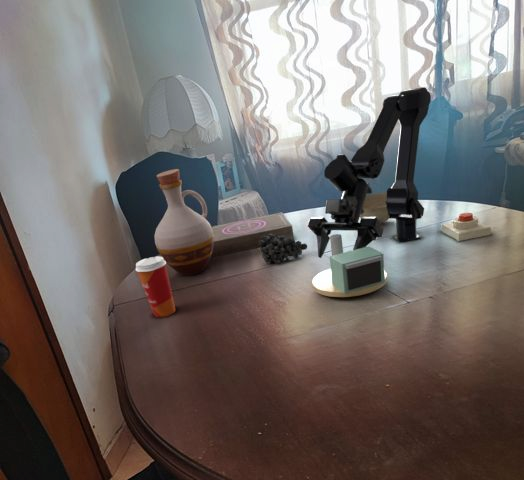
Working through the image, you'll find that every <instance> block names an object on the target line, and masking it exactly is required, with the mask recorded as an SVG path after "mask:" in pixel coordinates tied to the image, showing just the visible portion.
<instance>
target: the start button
mask: <svg viewBox="0 0 524 480" xmlns="http://www.w3.org/2000/svg"><path fill="white" fill-rule="evenodd" d="M473 216H474V214H473V213H472V212H462V213H460V214H458V217H459V221H462V222H466V221H471V220H473Z"/></svg>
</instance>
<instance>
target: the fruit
mask: <svg viewBox="0 0 524 480" xmlns="http://www.w3.org/2000/svg"><path fill="white" fill-rule="evenodd" d="M259 246H260V247H256V249H257V250H260V252H261V253H262V254H261V258H262V259H263V261H264V262H265V263H266V264H269V263H274V264H276V265H279V264H280V263H281V262H283V261H285V260H286V259H287V258H290V257H293V258H295V259H297V258H298V257H299V256H301V255H302V254H303V251H304V250H307V249H308V245H307V243H302V241H301V240H297V241H296V240H295V239H294V240H293V238H286V237H285V236H278V237H277V238H276V237H275V235H274V234H268V236H267V237H266V236H262V237H261V241H259Z"/></svg>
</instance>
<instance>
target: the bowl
mask: <svg viewBox="0 0 524 480" xmlns="http://www.w3.org/2000/svg"><path fill="white" fill-rule="evenodd" d="M386 198H387V192H386V193H385V192H383V193H379V192H378V193H371V194H366V197H365V200H364V203H363V207H362V209H363V210H364V212H363V214H360V217H359V219H361V218H362V217H377V219H378V220H379V221H380V223H381V224H382V223H385V222H386V221H388V220H389V219H390V218H389V215H388V212H387V208H386V203H385V202H386Z"/></svg>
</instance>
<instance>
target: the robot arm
mask: <svg viewBox="0 0 524 480" xmlns="http://www.w3.org/2000/svg"><path fill="white" fill-rule="evenodd" d="M431 96H432V95H431V92H430V91H428V89H427V88H426V87H424V86H422V87H416V88H411V89H404V90H402V91H400V92H399V93H398V94H395V95H394V94H393V95H389V96H387V97H385V98H384V99H383V101H382V108H381V110H380V112H379V114H378V117H377V119H376V120H375V123H374V124H373V127H372V130H371V131H370V133H369V135H368V138H367V140H366V142H365V143H364V145H362V146H360V147H359V148H358V149H357V150H356V151H355V153H354V155H353V156H352V158H351V160H350V161H349V159H348V157H347V156H346V154H343V153H342V154H337V155H336V158H334V159H332V160H331V161H330V162H329V163H328V164H327V165H326V166H325V168H324V172H323V175H324V177H325V179H326V180H327V181H328V182H329V183H330V184H331V185H332V186H333V187H334V188H335V189H336V190H337V191H338V192H342V194H341V195H342V196H341V198H335V199H332V198H331V199H326V201H325V211H324V213H325V215H326V214H329V215H330V218H331V220H334V222H330V221H328V220H327V218H326V217H324V216H312V217H310V218H309V220H308V222H307V227H308V229H309V230H311V232H312V233H313V234H314V235H315V236H316V244H317V257H318V258H320V259H322V257H323V256H324V253H325V251H326V249H327V246H328V244H329V242H330V236H329V235H331V233H332V231H350V232H351V231H352V232H353V231H354V232H355V231H356V232H357V235H356V240H355V242H354V244H353V249H352V250H356V249H360V248H364V247H368V246H369V245H370V244H371V243H372V242H374V241H376V240H377V239H381V238H383V235H384V231H385V230H384V226H383V224H382V223H380V221H379V220H378V219H377V217H362V218H360V214H363V212H364V210H363V209H362V207H363V203H364V200H365V197H366V195H369V194H373V191H372V190H373V189H372V188H371V186H370V183H369V182H367V181H366V180H374V179H377V178H378V177H379V176H380V174H381V173H382V169H383V166H384V163H385V155H384V152H385V149H386V147H387V144H388V142H389V140H390V138H391V136H392V134H393V132H394V130H395V127H396V125H397V123H398V122H399V125H400V132H399V141H398V151H397V152H398V153H397V162H396V169H395V170H396V171H395V180H394V183H393V184H392V186H391V187H388V188H387V189H386V193H387V198H386V202H385V203H386V208H387V212H388V215H389V219H393V220H394V219H395V233H396V234H393V235H392V238H393V239H394V240H396V241H397V242H399V243H403V242H404V243H405V242H408V241H413V240H419V239H421V238H422V236H421V235H420V234H418V233H417V220H420V219H422V217H423V216H424V212H425V208H424V206H423V204H422V203H421V202H420V201H419V191H418V189H417V186H416V185H415V183H414V181H415V172H416V162H417V154H418V146H419V137H420V128H421V125H422V123H423V122H424V120H425V119H426V117H427V116H428V112H429V108H430V104H431V101H432V100H431V99H432V97H431ZM359 220H360V221H359Z"/></svg>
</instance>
